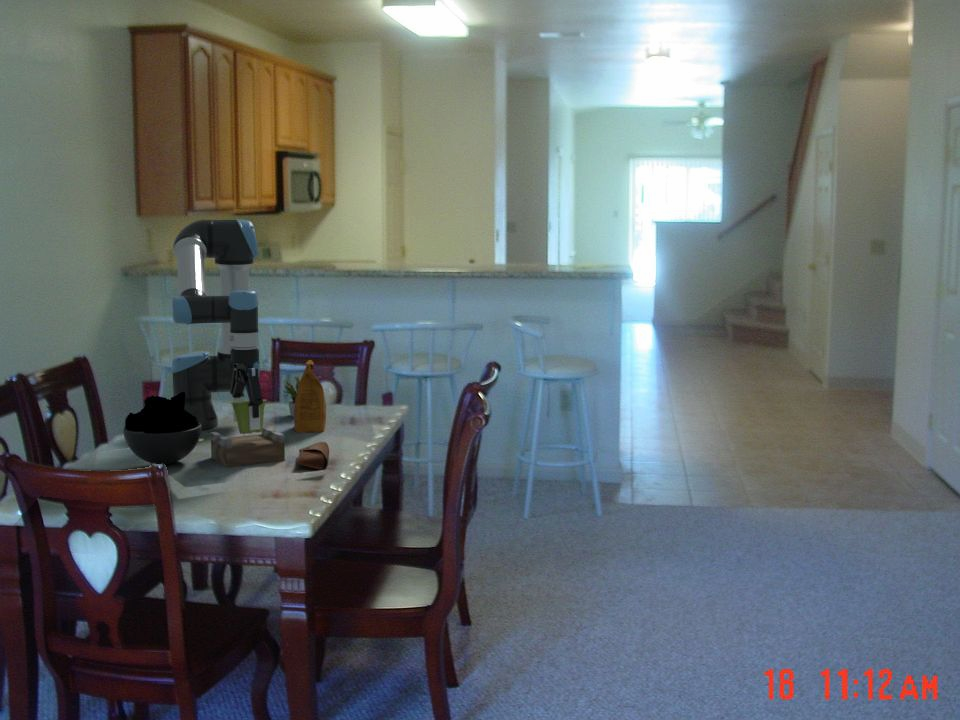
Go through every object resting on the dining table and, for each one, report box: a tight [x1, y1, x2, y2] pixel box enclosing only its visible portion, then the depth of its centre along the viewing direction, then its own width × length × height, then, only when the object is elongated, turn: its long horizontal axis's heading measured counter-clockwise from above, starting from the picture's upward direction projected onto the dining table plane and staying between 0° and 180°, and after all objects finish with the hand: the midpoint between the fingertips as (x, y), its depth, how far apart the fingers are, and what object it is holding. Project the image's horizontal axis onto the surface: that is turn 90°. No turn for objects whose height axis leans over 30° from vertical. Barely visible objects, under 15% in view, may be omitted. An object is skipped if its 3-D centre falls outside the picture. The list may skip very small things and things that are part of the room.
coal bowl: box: [122, 392, 202, 465], centre depth 270 cm, size 20×20×19 cm
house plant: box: [281, 373, 320, 418], centre depth 334 cm, size 14×14×16 cm
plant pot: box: [230, 399, 267, 435], centre depth 274 cm, size 9×9×9 cm
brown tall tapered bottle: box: [293, 359, 327, 434], centre depth 315 cm, size 10×12×22 cm
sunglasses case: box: [295, 441, 330, 470], centre depth 272 cm, size 18×7×7 cm
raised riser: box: [210, 426, 286, 468], centre depth 277 cm, size 14×16×7 cm
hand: (246, 425), depth 276 cm, fingers open, 13 cm apart
